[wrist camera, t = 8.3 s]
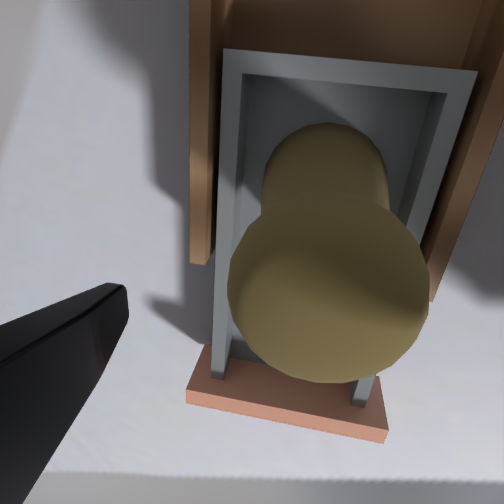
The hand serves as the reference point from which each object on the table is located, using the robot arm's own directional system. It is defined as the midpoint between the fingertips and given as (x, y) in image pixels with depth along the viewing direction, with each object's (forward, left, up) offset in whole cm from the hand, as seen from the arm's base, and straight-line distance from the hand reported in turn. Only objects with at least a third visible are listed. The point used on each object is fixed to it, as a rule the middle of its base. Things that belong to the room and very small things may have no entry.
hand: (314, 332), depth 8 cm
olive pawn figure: (0, 0, -11) cm, 11 cm away
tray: (-4, 0, -12) cm, 13 cm away
